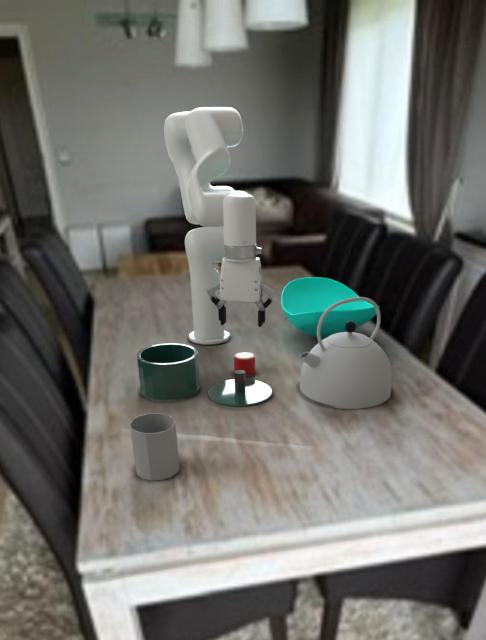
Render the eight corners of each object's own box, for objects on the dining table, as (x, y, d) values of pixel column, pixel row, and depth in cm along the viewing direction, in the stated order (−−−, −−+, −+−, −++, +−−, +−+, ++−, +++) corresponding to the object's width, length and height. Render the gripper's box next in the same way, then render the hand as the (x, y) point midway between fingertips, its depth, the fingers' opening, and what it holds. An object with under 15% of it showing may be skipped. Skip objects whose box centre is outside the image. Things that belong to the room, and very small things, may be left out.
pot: (153, 376, 149) (149, 341, 144) (206, 380, 147) (204, 345, 142) (132, 399, 137) (127, 362, 132) (189, 404, 135) (187, 366, 130)
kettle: (324, 418, 128) (331, 319, 116) (275, 383, 145) (276, 294, 133) (410, 396, 138) (425, 303, 125) (354, 366, 154) (362, 281, 142)
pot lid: (217, 381, 147) (216, 358, 143) (276, 385, 144) (277, 362, 141) (200, 406, 134) (199, 381, 131) (265, 411, 131) (265, 386, 128)
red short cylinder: (236, 369, 154) (236, 350, 151) (257, 370, 153) (257, 352, 150) (232, 376, 149) (231, 358, 146) (252, 378, 148) (252, 359, 145)
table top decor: (396, 352, 164) (402, 306, 156) (305, 361, 158) (308, 314, 151) (342, 314, 196) (346, 274, 189) (266, 320, 190) (266, 279, 183)
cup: (156, 454, 115) (151, 409, 109) (188, 465, 111) (184, 420, 105) (127, 472, 109) (120, 425, 104) (158, 485, 105) (153, 437, 100)
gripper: (279, 250, 136) (278, 322, 145) (209, 249, 139) (213, 318, 148) (273, 256, 129) (272, 330, 138) (200, 254, 133) (205, 327, 142)
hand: (242, 324), depth 143 cm, fingers open, 9 cm apart
